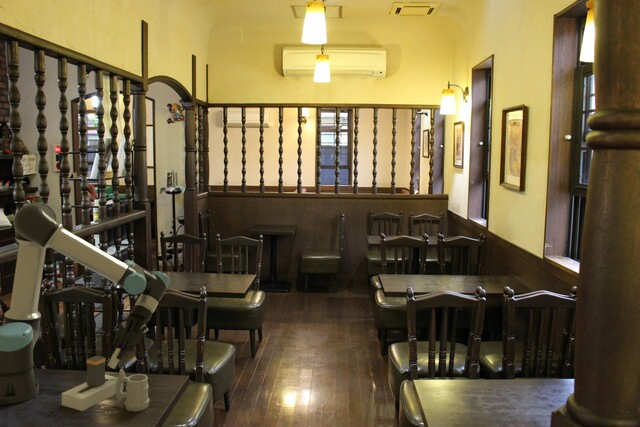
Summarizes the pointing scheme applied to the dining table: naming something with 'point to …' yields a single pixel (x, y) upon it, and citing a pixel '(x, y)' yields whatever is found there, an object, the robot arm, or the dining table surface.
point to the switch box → (89, 394)
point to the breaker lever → (95, 371)
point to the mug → (133, 391)
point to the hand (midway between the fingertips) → (110, 366)
